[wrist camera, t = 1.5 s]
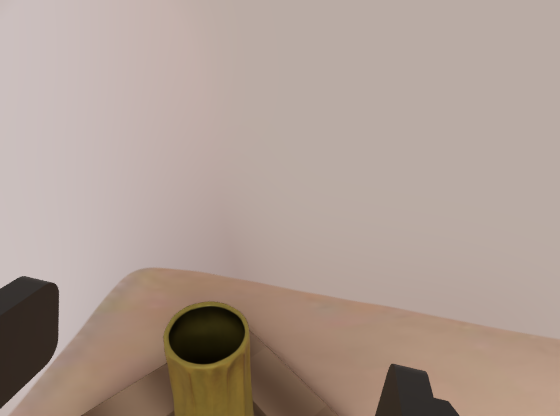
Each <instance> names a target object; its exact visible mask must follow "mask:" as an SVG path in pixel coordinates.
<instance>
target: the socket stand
mask: <svg viewBox="0 0 560 416" xmlns="http://www.w3.org/2000/svg"><path fill="white" fill-rule="evenodd" d="M249 334H250V368H251V386H252V399H253V411H254V416H338V415H337V414H336V413H335V412H334V411H333V410H332V409H331V408H330V407H329V406H328V405H327V404H326V403H325V402H324V401H323V400H322V399H321V398H320V397H318V396H317V395H316V394H315V393H314V392H313V391H312V390H311V389H310V388H309V387H308V386H307V385H306V384H305V383H304V382H303V381H302V380H301V379H300V378H299V377H298V376H297V375H296V374H295V373H294V372H293V371H291V370H290V369H289V368H288V367H287V366H286V365H285V364H284V363H283V362H282V361H281V360H280V359H279V358H278V357H277V356H276V355H275V354H274V353H273V352H272V351H271V350H270V349H269V348H268V347H267V346H265V345H264V344H263V343H262V342H261V341H260V340H259V339H258V338H257V337H256V336H255V335H254V334H253V333H252V332H251V331H250V330H249ZM81 416H175V412H174V400H173V393H172V388H171V383H170V377H169V371H168V365H167V363H166V364H165V365H163V366H161V367H160V368H158V369H156V370H155V371H153V372H152V373H150V374H148V375H147V376H145V377H143V378H142V379H140V380H139V381H137V382H135V383H134V384H132V385H130V386H129V387H127V388H125V389H124V390H122V391H121V392H119V393H117V394H116V395H114V396H112V397H111V398H109V399H108V400H106V401H104V402H103V403H101V404H99V405H98V406H96V407H94V408H93V409H91V410H90V411H88V412H86V413H85V414H83V415H81Z"/></svg>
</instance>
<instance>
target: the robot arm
mask: <svg viewBox="0 0 560 416" xmlns="http://www.w3.org/2000/svg"><path fill="white" fill-rule="evenodd" d="M58 317H59V290H58V287H57V285H56V284H54V283H51V282H47V281H43V280H39V279H34V278H30V277H26V276H22V277H20V278H17V279H16V280H14V281H12V282H11V283H9V284H7V285H6V286H4V287H2V288H1V289H0V408H2V406H4V405H5V404H6V403H7V402H8V401H9V400H10V399H11V398H12V397H13V396H14V395H15V394H16V393H17V392H18V391H19V390H20V389H21V388H23V387H24V386H25V384H27V383H28V382H29V381H30V380H31V379H32V378H33V377H34V376H35V375H36V374H37V373H38V372H40V371H41V369H43V368H44V367H45V365H47V363H48V362H49V361H50V359H51V358H52V356H53V354H54V352H55V350H56V347H57V343H58ZM375 416H459V414H458V413H457V412H456V411H455V409H454V408H453V407H452V405H451V404H450V403H449V402H448V401H445V400H441V399H437V398H434V397H433V393H432V389H431V386H430V382H429V378H428V374H427V372H425V371H422V370H417V369H413V368H409V367H405V366H400V365H396V364H391V365H390V367H389V370H388V373H387V376H386V380H385V383H384V387H383V390H382V394H381V397H380V401H379V404H378V408H377V411H376V414H375Z"/></svg>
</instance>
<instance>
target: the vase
mask: <svg viewBox="0 0 560 416" xmlns="http://www.w3.org/2000/svg"><path fill="white" fill-rule="evenodd" d="M163 339H164V350H165V356H166V360H167V365H168V371H169V377H170V383H171V388H172V393H173V400H174V412H175V416H254V411H253V399H252V386H251V368H250V334H249V327H248V323H247V321H246V318H245V317H244V316H243V315H242V313H241V312H239V311H238V310H236V309H235V308H233V307H231V306H229V305H227V304H224V303H219V302H202V303H198V304H193V305H190V306H188V307H186V308H184V309H182V310H181V311H179V312H178V313H177V314H176V315H174V316H173V318H172V319H171V320H170V322H169V324H168V325H167V327H166V329H165V332H164V336H163Z"/></svg>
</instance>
